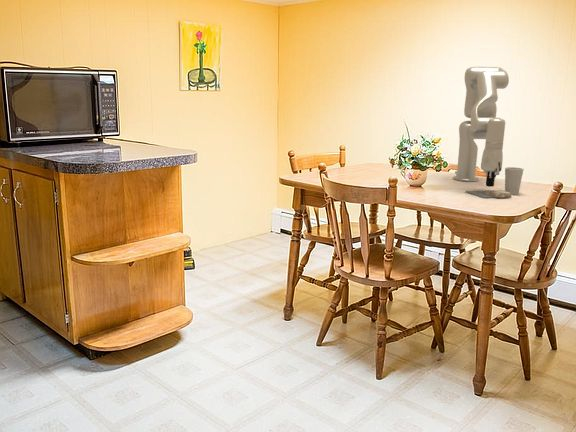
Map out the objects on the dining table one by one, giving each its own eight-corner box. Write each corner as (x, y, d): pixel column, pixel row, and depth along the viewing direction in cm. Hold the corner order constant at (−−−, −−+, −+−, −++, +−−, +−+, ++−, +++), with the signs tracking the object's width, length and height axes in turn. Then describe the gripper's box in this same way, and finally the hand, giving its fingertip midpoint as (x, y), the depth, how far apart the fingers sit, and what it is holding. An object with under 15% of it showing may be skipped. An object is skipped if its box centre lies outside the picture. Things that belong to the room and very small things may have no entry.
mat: (465, 192, 253) (465, 190, 253) (491, 191, 256) (491, 190, 256) (484, 198, 239) (484, 197, 239) (511, 197, 242) (511, 196, 242)
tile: (497, 193, 238) (511, 193, 240) (486, 190, 245) (500, 189, 247) (496, 197, 238) (510, 197, 240) (486, 194, 246) (499, 193, 248)
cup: (508, 195, 247) (511, 169, 244) (499, 192, 254) (501, 167, 252) (524, 195, 248) (527, 169, 246) (513, 191, 256) (516, 167, 253)
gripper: (477, 144, 248) (473, 183, 252) (496, 148, 234) (492, 189, 238) (491, 144, 250) (487, 183, 254) (511, 148, 236) (506, 188, 240)
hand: (489, 186), depth 246 cm, fingers closed
